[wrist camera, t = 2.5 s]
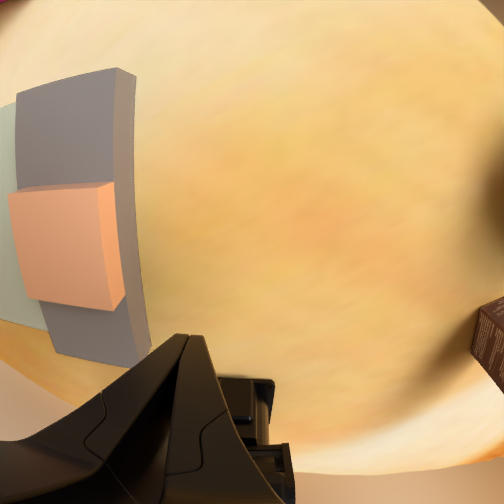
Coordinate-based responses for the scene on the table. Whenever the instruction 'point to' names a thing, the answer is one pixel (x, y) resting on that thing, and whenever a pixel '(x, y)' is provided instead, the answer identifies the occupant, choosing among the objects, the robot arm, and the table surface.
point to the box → (491, 341)
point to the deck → (85, 171)
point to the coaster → (68, 243)
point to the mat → (3, 246)
